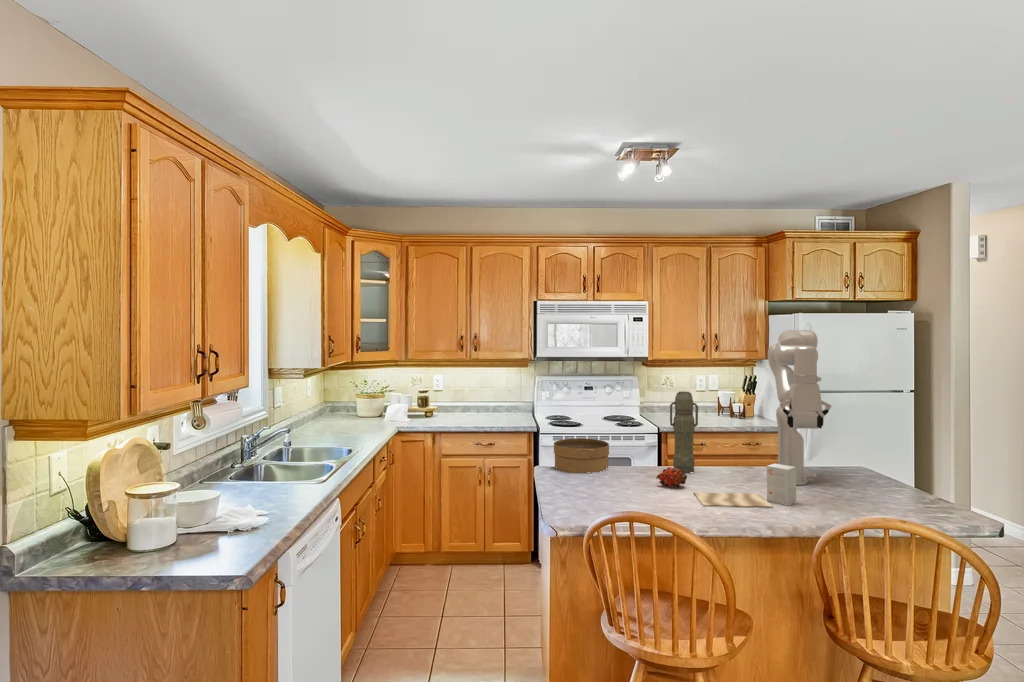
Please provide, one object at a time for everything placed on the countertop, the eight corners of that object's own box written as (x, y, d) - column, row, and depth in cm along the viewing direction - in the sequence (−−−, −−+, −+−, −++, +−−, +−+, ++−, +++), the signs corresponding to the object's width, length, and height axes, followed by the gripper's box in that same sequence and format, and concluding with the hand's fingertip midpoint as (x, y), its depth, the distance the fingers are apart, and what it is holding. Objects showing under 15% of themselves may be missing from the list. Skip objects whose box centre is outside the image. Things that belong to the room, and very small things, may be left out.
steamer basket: (605, 475, 258) (604, 449, 258) (548, 472, 266) (548, 446, 265) (612, 463, 282) (612, 439, 282) (560, 461, 289) (560, 437, 289)
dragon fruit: (689, 492, 237) (658, 494, 240) (687, 475, 243) (656, 478, 246) (687, 478, 232) (655, 480, 235) (684, 461, 239) (654, 464, 242)
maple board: (758, 495, 226) (758, 493, 226) (773, 507, 210) (773, 506, 210) (693, 494, 228) (693, 492, 228) (703, 506, 213) (703, 504, 213)
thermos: (699, 473, 260) (699, 393, 259) (671, 473, 261) (671, 393, 261) (695, 469, 269) (696, 391, 268) (668, 468, 270) (669, 390, 269)
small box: (796, 502, 217) (796, 466, 216) (788, 506, 213) (788, 469, 212) (774, 497, 223) (775, 463, 223) (766, 501, 219) (766, 465, 219)
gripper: (827, 379, 220) (827, 426, 221) (777, 379, 223) (777, 425, 224) (834, 381, 213) (834, 429, 213) (782, 380, 216) (782, 428, 216)
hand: (805, 427), depth 218 cm, fingers open, 9 cm apart
